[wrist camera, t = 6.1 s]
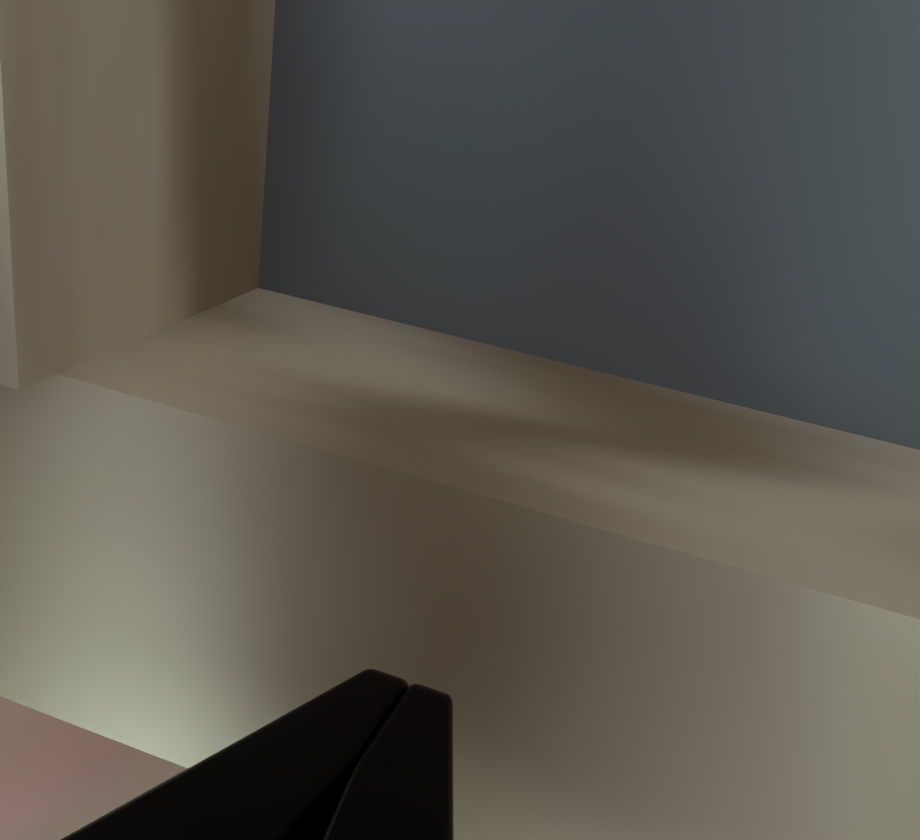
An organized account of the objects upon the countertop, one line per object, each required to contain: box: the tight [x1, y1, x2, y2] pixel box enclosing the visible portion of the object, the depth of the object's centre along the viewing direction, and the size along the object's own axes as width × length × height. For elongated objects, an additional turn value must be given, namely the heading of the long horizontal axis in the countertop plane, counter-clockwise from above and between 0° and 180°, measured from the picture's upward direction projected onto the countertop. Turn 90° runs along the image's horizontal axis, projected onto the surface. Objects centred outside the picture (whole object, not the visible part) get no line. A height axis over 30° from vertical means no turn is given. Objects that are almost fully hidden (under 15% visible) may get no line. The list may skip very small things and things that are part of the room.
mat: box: [258, 0, 920, 450], centre depth 13 cm, size 17×14×1 cm
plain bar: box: [0, 288, 920, 840], centre depth 10 cm, size 12×4×4 cm, turn 81°
